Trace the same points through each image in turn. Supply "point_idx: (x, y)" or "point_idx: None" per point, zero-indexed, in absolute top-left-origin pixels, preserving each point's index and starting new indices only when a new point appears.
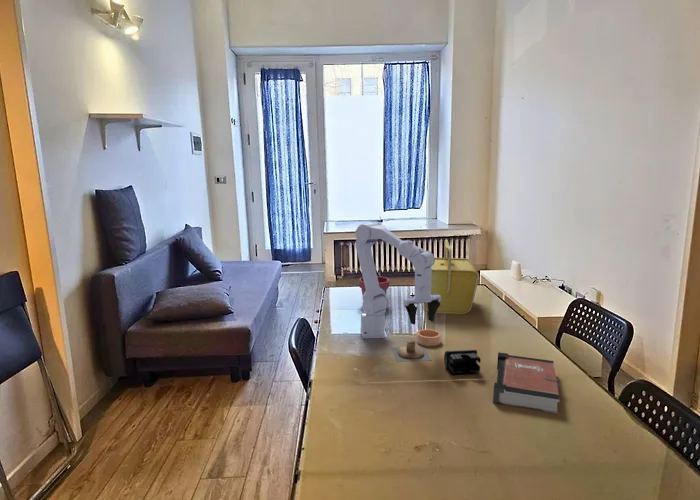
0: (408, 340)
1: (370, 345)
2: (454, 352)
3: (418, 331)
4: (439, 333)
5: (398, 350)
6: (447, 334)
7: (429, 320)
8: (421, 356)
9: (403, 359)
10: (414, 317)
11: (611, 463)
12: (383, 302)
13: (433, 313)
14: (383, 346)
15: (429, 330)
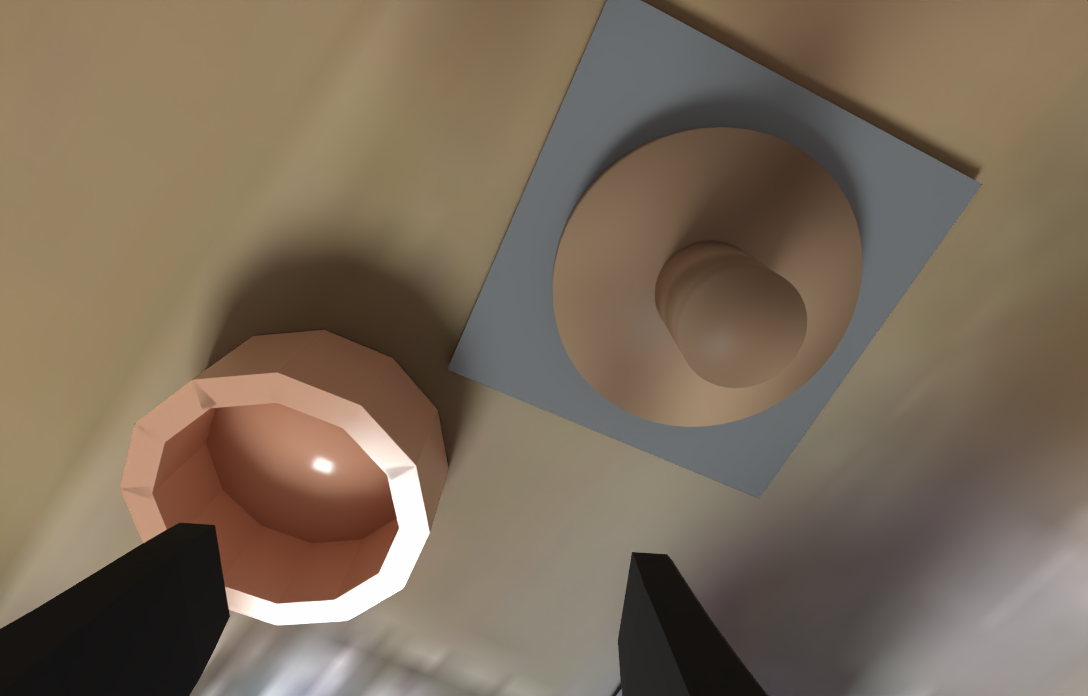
0: (744, 378)
1: (859, 619)
2: None
3: (363, 600)
4: (146, 452)
5: (812, 367)
6: (24, 515)
7: (224, 587)
8: (661, 136)
9: (881, 187)
10: (722, 678)
11: None
12: None
13: (25, 665)
14: (779, 557)
15: None
